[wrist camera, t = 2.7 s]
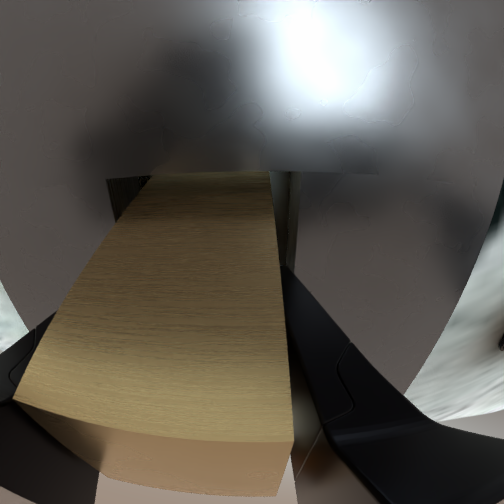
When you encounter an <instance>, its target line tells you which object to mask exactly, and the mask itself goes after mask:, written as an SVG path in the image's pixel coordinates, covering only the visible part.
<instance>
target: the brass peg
mask: <svg viewBox="0 0 504 504" xmlns="http://www.w3.org/2000/svg"><path fill="white" fill-rule="evenodd" d="M13 400H14V401H15V402H16V403H17V404H18V405H19V406H20V407H21V408H22V409H23V410H24V411H25V412H26V413H27V414H28V415H29V416H31V417H32V418H33V419H34V420H35V421H36V422H37V423H38V424H39V425H40V426H41V427H43V428H44V429H45V430H46V431H47V432H48V433H49V434H51V435H52V436H53V437H54V438H55V439H57V440H58V441H59V442H60V443H62V444H63V445H64V446H65V447H67V448H68V449H69V450H70V451H72V452H73V453H74V454H76V455H77V456H78V457H80V458H81V459H82V460H84V461H85V462H86V463H88V464H89V465H91V466H92V467H94V468H95V469H96V470H98V471H99V472H101V473H102V474H104V475H105V476H107V477H108V478H112V479H116V480H120V481H124V482H128V483H133V484H138V485H143V486H148V487H153V488H160V489H165V490H172V491H180V492H187V493H197V494H208V495H223V496H276V494H277V491H278V488H279V485H280V483H281V480H282V477H283V474H284V471H285V468H286V465H287V462H288V459H289V456H290V453H291V450H292V446H293V443H294V431H293V416H292V402H291V388H290V375H289V363H288V351H287V339H286V328H285V316H284V306H283V295H282V285H281V274H280V265H279V255H278V245H277V236H276V227H275V218H274V209H273V200H272V191H271V183H270V174H269V171H231V172H199V173H178V174H162V175H153V176H152V177H151V178H150V180H149V181H148V182H147V183H146V184H145V186H144V187H143V188H142V189H141V191H140V192H139V193H138V194H137V196H136V197H135V198H134V200H133V201H132V202H131V203H130V205H129V206H128V207H127V209H126V210H125V211H124V212H123V214H122V215H121V216H120V218H119V219H118V220H117V222H116V223H115V224H114V226H113V227H112V229H111V230H110V231H109V233H108V234H107V235H106V237H105V238H104V240H103V241H102V243H101V244H100V245H99V247H98V248H97V250H96V251H95V253H94V254H93V255H92V257H91V258H90V260H89V261H88V263H87V264H86V266H85V267H84V269H83V270H82V272H81V274H80V275H79V277H78V278H77V280H76V281H75V283H74V284H73V286H72V288H71V289H70V291H69V292H68V294H67V296H66V297H65V299H64V301H63V302H62V304H61V306H60V307H59V309H58V311H57V312H56V314H55V316H54V318H53V319H52V321H51V323H50V325H49V326H48V328H47V330H46V332H45V334H44V335H43V337H42V339H41V341H40V343H39V345H38V347H37V349H36V350H35V352H34V354H33V356H32V358H31V360H30V362H29V364H28V366H27V368H26V370H25V373H24V375H23V377H22V379H21V381H20V383H19V385H18V387H17V390H16V392H15V394H14V396H13Z"/></svg>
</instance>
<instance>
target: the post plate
mask: <svg viewBox="0 0 504 504" xmlns="http://www.w3.org/2000/svg"><path fill="white" fill-rule="evenodd" d="M231 171H290V196H289V217H288V236H287V254H286V266H288V267H289V268H290V270H291V271H292V272H293V273H294V274H295V275H296V276H297V278H298V279H299V280H300V281H301V282H302V283H303V285H304V286H305V287H306V288H307V289H308V291H309V292H310V293H311V294H312V295H313V296H314V298H315V299H316V300H317V301H318V302H319V303H320V305H321V306H322V307H323V308H324V309H325V310H326V312H327V313H328V314H329V315H330V316H331V318H332V319H333V320H334V321H335V322H336V323H337V325H338V326H339V327H340V328H341V329H342V331H343V332H344V333H345V334H346V335H347V337H348V338H349V339H350V340H351V342H352V343H353V344H354V345H355V346H356V347H357V348H358V350H359V351H360V352H361V353H362V354H363V355H364V356H365V358H366V359H367V360H368V361H369V362H370V363H371V364H372V365H373V366H374V367H375V368H376V369H377V370H378V371H379V372H380V373H381V374H382V375H383V376H384V377H385V378H386V379H387V380H388V381H389V382H390V383H391V384H392V385H393V386H394V387H395V388H396V389H397V390H398V391H399V392H400V393H401V394H403V395H404V393H405V392H406V390H407V389H408V387H409V386H410V384H411V383H412V381H413V380H414V378H415V377H416V375H417V374H418V372H419V371H420V369H421V367H422V366H423V364H424V363H425V361H426V359H427V358H428V356H429V354H430V353H431V351H432V349H433V348H434V346H435V344H436V343H437V341H438V339H439V337H440V335H441V334H442V332H443V330H444V328H445V326H446V324H447V323H448V321H449V319H450V317H451V315H452V313H453V311H454V309H455V307H456V305H457V303H458V301H459V299H460V297H461V295H462V293H463V290H464V288H465V286H466V284H467V282H468V279H469V277H470V275H471V272H472V270H473V268H474V265H475V263H476V260H477V258H478V255H479V253H480V250H481V248H482V245H483V242H484V240H485V237H486V234H487V231H488V228H489V225H490V222H491V219H492V216H493V213H494V210H495V207H496V203H497V200H498V197H499V193H500V189H501V186H502V182H503V178H504V0H0V280H1V282H2V284H3V286H4V288H5V290H6V292H7V294H8V296H9V298H10V300H11V301H12V303H13V305H14V307H15V308H16V310H17V312H18V314H19V315H20V317H21V319H22V320H23V322H24V324H25V325H26V327H27V329H28V330H29V332H30V331H31V330H32V329H34V328H35V329H36V326H37V325H39V324H40V323H41V322H43V321H44V320H45V319H46V318H48V317H49V316H50V315H52V314H53V313H54V312H55V311H57V310H58V309H59V307H60V306H61V304H62V302H63V301H64V299H65V297H66V296H67V294H68V292H69V291H70V289H71V288H72V286H73V284H74V283H75V281H76V280H77V278H78V277H79V275H80V274H81V272H82V270H83V269H84V267H85V266H86V264H87V263H88V261H89V260H90V258H91V257H92V255H93V254H94V253H95V251H96V250H97V248H98V247H99V245H100V244H101V243H102V241H103V240H104V238H105V237H106V235H107V234H108V233H109V231H110V230H111V229H112V227H113V226H114V224H115V223H116V222H117V220H118V219H119V218H120V216H121V215H122V214H123V212H124V211H125V210H126V209H127V207H128V206H129V205H130V203H131V202H132V201H133V200H134V198H135V197H136V196H137V194H138V193H139V192H140V185H139V179H138V176H147V175H162V174H178V173H199V172H231Z"/></svg>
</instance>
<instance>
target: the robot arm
mask: <svg viewBox="0 0 504 504" xmlns="http://www.w3.org/2000/svg"><path fill="white" fill-rule="evenodd" d="M280 274H281V285H282V295H283V306H284V316H285V328H286V339H287V351H288V363H289V375H290V388H291V402H292V416H293V431H294V443H293V446H292V450H291V453H290V455H291V462H292V468H293V474H294V480H295V488H296V494H297V501H298V504H504V439H500V438H494V437H490V436H485V435H481V434H476V433H472V432H468V431H464V430H460V429H456V428H451V427H448V426H445V425H441V424H439V423H437V422H435V421H433V420H432V419H430V418H428V417H427V416H426V415H424V414H423V413H422V412H421V411H420V410H418V409H417V408H416V407H415V406H414V405H413V404H412V403H411V402H410V401H409V400H408V399H407V398H406V397H405V396H404V395H403V394H401V393H400V392H399V391H398V390H397V389H396V388H395V387H394V386H393V385H392V384H391V383H390V382H389V381H388V380H387V379H386V378H385V377H384V376H383V375H382V374H381V373H380V372H379V371H378V370H377V369H376V368H375V367H374V366H373V365H372V364H371V363H370V362H369V361H368V360H367V359H366V358H365V356H364V355H363V354H362V353H361V352H360V351H359V350H358V348H357V347H356V346H355V345H354V344H353V343H352V342H351V340H350V339H349V338H348V337H347V335H346V334H345V333H344V332H343V331H342V329H341V328H340V327H339V326H338V325H337V323H336V322H335V321H334V320H333V319H332V318H331V316H330V315H329V314H328V313H327V312H326V310H325V309H324V308H323V307H322V306H321V305H320V303H319V302H318V301H317V300H316V299H315V298H314V296H313V295H312V294H311V293H310V292H309V291H308V289H307V288H306V287H305V286H304V285H303V283H302V282H301V281H300V280H299V279H298V278H297V276H296V275H295V274H294V273H293V272H292V271H291V270H290V268H289V267H288V266H280ZM57 311H58V310H57ZM57 311H55V312H54V313H53V314H52V315H50V316H49V317H48V318H46V319H45V320H44V321H43V322H41V323H40V324H39V325H37V326H36V329H35V328H34V329H32V330H31V331H30V332H29V333H27V334H26V335H25V336H24V337H22V338H21V339H20V340H18V341H17V342H16V343H15V344H13V345H12V346H11V347H9V348H8V349H6V350H5V351H4V352H2V353H1V354H0V504H94V503H95V496H96V489H97V483H98V477H99V471H98V470H96V469H95V468H94V467H92V466H91V465H89V464H88V463H86V462H85V461H84V460H82V459H81V458H80V457H78V456H77V455H76V454H74V453H73V452H72V451H70V450H69V449H68V448H67V447H65V446H64V445H63V444H62V443H60V442H59V441H58V440H57V439H55V438H54V437H53V436H52V435H51V434H49V433H48V432H47V431H46V430H45V429H44V428H43V427H41V426H40V425H39V424H38V423H37V422H36V421H35V420H34V419H33V418H32V417H31V416H29V415H28V414H27V413H26V412H25V411H24V410H23V409H22V408H21V407H20V406H19V405H18V404H17V403H16V402H15V401H14V400H13V396H14V394H15V392H16V390H17V387H18V385H19V383H20V381H21V379H22V377H23V375H24V373H25V370H26V368H27V366H28V364H29V362H30V360H31V358H32V356H33V354H34V352H35V350H36V349H37V347H38V345H39V343H40V341H41V339H42V337H43V335H44V334H45V332H46V330H47V328H48V326H49V325H50V323H51V321H52V319H53V318H54V316H55V314H56V312H57ZM498 347H499V348H500V350H501V351H503V350H504V338H503V339H502V341H501V342H500V344H499V346H498Z"/></svg>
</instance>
